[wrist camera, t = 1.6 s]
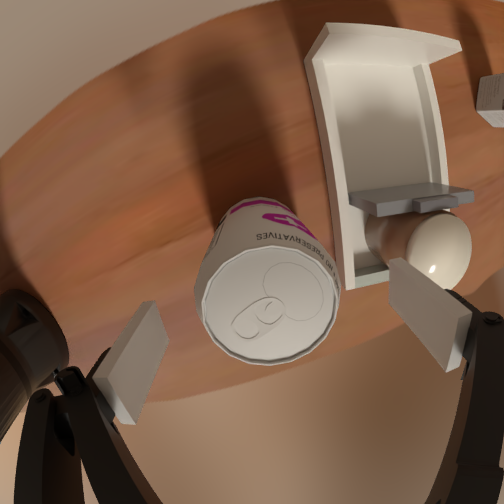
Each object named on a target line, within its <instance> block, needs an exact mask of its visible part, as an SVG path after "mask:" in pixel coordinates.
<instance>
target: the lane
mask: <svg viewBox="0 0 504 504" xmlns="http://www.w3.org/2000/svg"><path fill="white" fill-rule="evenodd" d="M460 51H462V48H461V45H460V42H459V41H458V40H454V39H450V38H447V37H442V36H438V35H434V34H429V33H424V32H419V31H414V30H408V29H402V28H395V27H387V26H379V25H368V24H355V23H326V24H325V25H324V27H323V28H322V30H321V32H320V33H319V35H318V37H317V38H316V40H315V42H314V43H313V45H312V47H311V48H310V50H309V52H308V54H307V55H306V57H305V59H304V60H303V61H304V65H305V70H306V74H307V78H308V82H309V87H310V91H311V96H312V101H313V106H314V110H315V115H316V121H317V126H318V131H319V137H320V142H321V148H322V154H323V160H324V166H325V173H326V179H327V186H328V194H329V201H330V209H331V217H332V226H333V235H334V245H335V256H336V267H337V271H338V275H339V278H340V282H341V284H342V286H343V287H344V289H345V290H350V289H354V288H359V287H363V286H368V285H372V284H376V283H381V282H385V281H389V267H387V266H386V265H385V264H384V263H383V262H381V261H380V260H379V259H378V258H376V257H375V256H374V255H373V254H372V253H371V252H370V250H369V248H368V246H367V244H366V240H365V224H366V221H367V218H368V215H369V213H367V212H365V211H363V210H361V209H358V208H356V207H354V206H352V205H349V201H348V193H349V192H356V191H364V190H371V189H379V188H386V187H394V186H403V185H411V184H420V183H429V182H433V183H439V184H444V185H449V183H448V170H447V160H446V151H445V143H444V136H443V129H442V123H441V117H440V112H439V107H438V102H437V97H436V92H435V88H434V84H433V80H432V76H431V72H430V68H429V65H428V64H431V63H433V62H435V61H438V60H440V59H443V58H445V57H447V56H450V55H452V54H455V53H457V52H460ZM443 210H446V211H449V212H450V208H449V209H443Z"/></svg>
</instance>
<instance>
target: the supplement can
mask: <svg viewBox="0 0 504 504" xmlns="http://www.w3.org/2000/svg"><path fill="white" fill-rule="evenodd" d="M340 291H341V282H340V278H339V275H338V271H337V267H336V264H335V261H334V260H333V259H332V258H331V256H330V255H329V254H328V252H327V251H326V250H325V249H324V247H323V246H322V245H321V244H320V242H319V241H318V240H317V239H316V238H315V237H314V236H313V234H312V233H311V232H310V231H309V230H308V229H307V228H306V227H305V225H304V224H303V223H302V222H301V221H300V220H299V219H298V218H297V217H296V215H295V214H294V213H293V212H292V211H291V210H290V209H289V208H288V207H287V206H286V205H284V204H282V203H280V202H279V201H277V200H275V199H271V198H265V197H253V198H248V199H244V200H242V201H240V202H239V203H237V204H235V205H234V206H232V207H230V209H229V210H228V211H227V212H226V214H225V215H224V216H223V217H222V219H221V221H220V223H219V225H218V227H217V230H216V232H215V234H214V236H213V239H212V241H211V243H210V245H209V248H208V250H207V252H206V254H205V257H204V259H203V261H202V264H201V267H200V270H199V273H198V277H197V280H196V283H195V287H194V293H195V302H196V311H197V313H198V315H199V317H200V319H201V321H202V323H203V325H204V327H205V328H206V330H207V332H208V333H209V335H210V337H211V338H212V340H213V342H214V343H215V344H216V345H218V346H219V347H220V348H221V349H222V350H223V351H224V352H226V353H227V354H228V355H229V356H232V357H234V358H236V359H239V360H241V361H244V362H246V363H249V364H258V365H268V366H271V365H277V364H282V363H288V362H292V361H294V360H296V359H298V358H300V357H302V356H304V355H306V354H308V353H310V352H311V351H312V350H314V349H315V348H316V347H317V346H318V345H319V344H320V343H321V342H322V341H323V340H324V339H325V338H326V337H327V335H328V333H329V331H330V329H331V327H332V326H333V324H334V322H335V320H336V313H337V309H338V307H339V299H340Z"/></svg>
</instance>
